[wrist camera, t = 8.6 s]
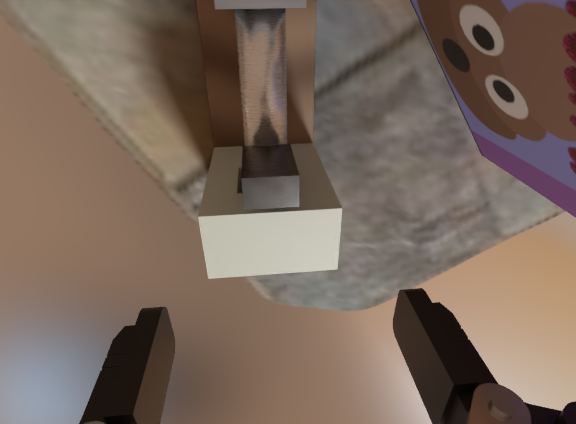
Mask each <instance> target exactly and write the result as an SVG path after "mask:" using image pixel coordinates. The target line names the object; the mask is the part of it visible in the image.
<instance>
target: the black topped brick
mask: <svg viewBox="0 0 576 424" xmlns="http://www.w3.org/2000/svg"><path fill="white" fill-rule="evenodd" d="M234 13H235V26H236V39H237V52H238V65H239V78H240V91H241V104H242V117H243V130H244V143H245V146H243V148H242V173H241V181H242V192H243V204H244V210H252V209H269V208H287V207H299V183H300V175H299V172H298V168H297V165H296V162H295V158H294V155H293V151H292V148H291V144H287V86H286V8H267V9H234Z"/></svg>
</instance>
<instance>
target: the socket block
mask: <svg viewBox="0 0 576 424" xmlns="http://www.w3.org/2000/svg"><path fill="white" fill-rule="evenodd" d="M242 148H243V146H236V147H214V150H213V155H212V159H211V163H210V168H209V172H208V176H207V181H206V185H205V189H204V194H203V198H202V202H201V207H200V211H199V215H198V219H199V225H200V231H201V237H202V243H203V249H204V255H205V261H206V267H207V273H208V278H209V279H210V278H225V277H239V276H253V275H267V274H280V273H294V272H308V271H322V270H336V269H337V268H338V255H339V242H340V229H341V217H342V207H341V205H340V202H339V200H338V198H337V196H336V194H335V191H334V189H333V187H332V185H331V182H330V180H329V178H328V176H327V174H326V171H325V169H324V167H323V165H322V162H321V160H320V158H319V156H318V154H317V151H316V149H315V147H314V145H313V143H303V144H291V148H292V151H293V155H294V158H295V162H296V165H297V168H298V172H299V175H300V183H299V207H287V208H269V209H252V210H244V204H243V192H242V181H241V173H242Z"/></svg>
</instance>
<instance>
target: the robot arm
mask: <svg viewBox="0 0 576 424" xmlns="http://www.w3.org/2000/svg"><path fill="white" fill-rule="evenodd" d="M393 330H394V334H395V337H396V340H397V342H398V345H399V347H400V349H401V352H402V354H403V356H404V359H405V361H406V363H407V366H408V367H409V370H410V373H411V375H412V377H413V379H414V382H415V384H416V387H417V389H418V391H419V394H420V396H421V398H422V401H423V403H424V405H425V407H426V410H427V412H428V414H429V417H430V419H431V421H432V424H576V402H571V403H569V404H567V405H566V406H565V408H564V409H563V411H559V410H554V409H549V408H545V407H540V406H536V405H531V404H528V403H525V402H523V400H522V399H521V398H520V397H519V396H518V395H517V394H515V393H514V392H513V391H511V390H510V389H508V388H506V387H504V386H501V385H499V384H498V383H497V381H496V380H495V379H494V377H493V375H492V374H491V373H490V371H489V369H488V368H487V366H486V365H485V363H484V361H483V360H482V358H481V357H480V356H479V354H478V352H477V351H476V349H475V347H474V346H473V345H472V343H471V342H470V340H468V337H467V335H466V334H465V332H464V330H463V329H461V326H460V324H459V323H458V321H457V320H456V318H455V317H454V315H453V313H452V312H450V311H449V310H448V309H447V308H446V307H444V306H443V305H442V304H441V303H440V302H438V303H432V302H431V300H430V298H429V297H428V295H427V294H426V292H425V291H424V290H423V289H422V288H419V289H406V290H400V291H399V293H398V298H397V303H396V307H395V313H394V317H393ZM174 354H175V337H174V333H173V330H172V326H171V322H170V318H169V314H168V310H167V308H166V307H156V308H143V309H141V311H140V313H139V316H138V319H137V321H136V325H133V326H125V327H124V328H123V329H122V330H121V331H120V332H119V334H118V335H117V336H116V337H115V338H114V339H113V341H112V344H111V346H110V349H109V351H108V354H107V358H106V359H105V362H104V364H103V366H102V371H100V374H99V376H98V379H97V381H96V384H95V386H94V389H93V391H92V394H91V396H90V399H89V401H88V404H87V406H86V409H85V411H84V414H83V416H82V419H81V421H80V423H79V424H160V421H161V416H162V411H163V407H164V401H165V398H166V392H167V387H168V383H169V379H170V373H171V369H172V364H173V359H174Z"/></svg>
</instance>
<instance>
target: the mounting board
mask: <svg viewBox="0 0 576 424" xmlns="http://www.w3.org/2000/svg"><path fill="white" fill-rule="evenodd" d="M196 5H197V13H198V21H199V29H200V37H201V45H202V53H203V61H204V69H205V78H206V86H207V94H208V102H209V110H210V118H211V126H212V134H213V142H214V147H236V146H245V143H244V130H243V117H242V104H241V91H240V78H239V65H238V52H237V39H236V26H235V13H234V9H267V8H286V86H287V144H303V143H313V115H314V76H315V38H316V0H196Z"/></svg>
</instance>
